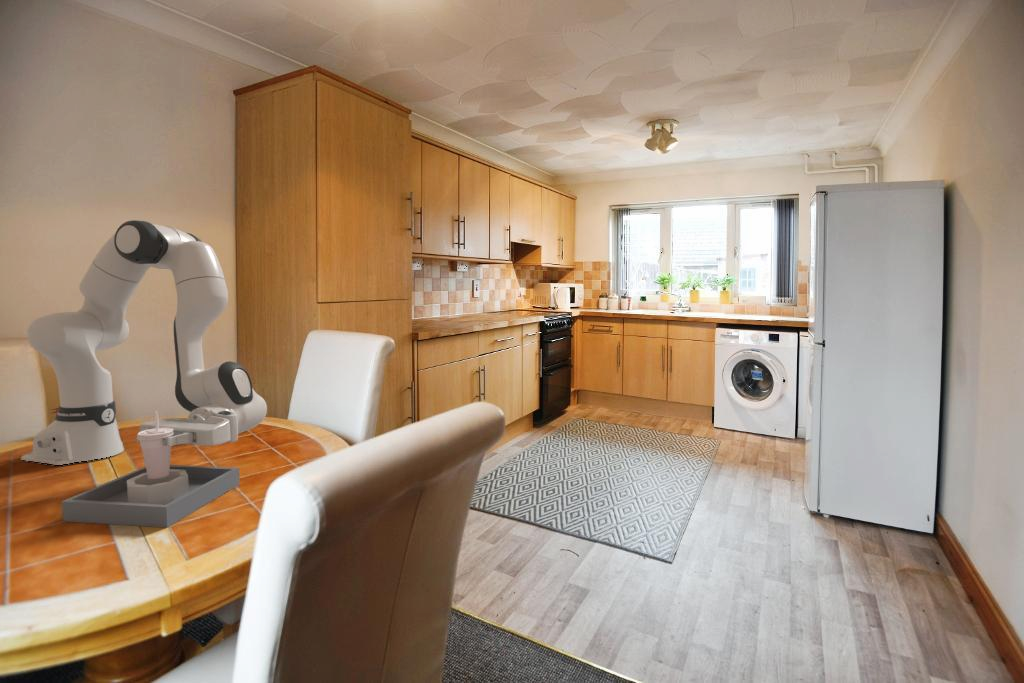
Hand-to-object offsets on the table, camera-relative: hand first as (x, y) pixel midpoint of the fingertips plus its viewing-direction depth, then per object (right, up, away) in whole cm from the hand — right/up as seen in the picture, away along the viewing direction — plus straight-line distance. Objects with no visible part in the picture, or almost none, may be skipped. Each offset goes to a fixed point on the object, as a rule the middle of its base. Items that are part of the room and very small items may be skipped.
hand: (152, 441), depth 108 cm
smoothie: (0, -8, +2) cm, 8 cm away
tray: (0, -13, +2) cm, 13 cm away
